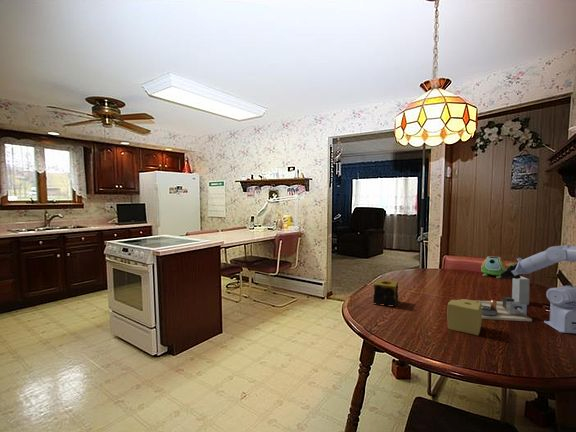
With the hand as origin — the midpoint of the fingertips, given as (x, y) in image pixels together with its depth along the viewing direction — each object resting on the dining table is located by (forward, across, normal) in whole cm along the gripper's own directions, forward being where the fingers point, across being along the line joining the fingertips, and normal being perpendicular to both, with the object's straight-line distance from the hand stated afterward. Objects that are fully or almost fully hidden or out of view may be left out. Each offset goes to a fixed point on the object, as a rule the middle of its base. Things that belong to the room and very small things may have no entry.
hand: (506, 273), depth 128 cm
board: (+9, +12, +10) cm, 18 cm away
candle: (+30, +43, -12) cm, 54 cm away
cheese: (+2, +38, +8) cm, 39 cm away
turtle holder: (+42, -50, +5) cm, 65 cm away
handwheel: (+7, +18, +9) cm, 21 cm away
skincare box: (+11, -10, +15) cm, 21 cm away
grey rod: (+3, +8, +14) cm, 16 cm away
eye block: (+2, +9, +15) cm, 18 cm away
